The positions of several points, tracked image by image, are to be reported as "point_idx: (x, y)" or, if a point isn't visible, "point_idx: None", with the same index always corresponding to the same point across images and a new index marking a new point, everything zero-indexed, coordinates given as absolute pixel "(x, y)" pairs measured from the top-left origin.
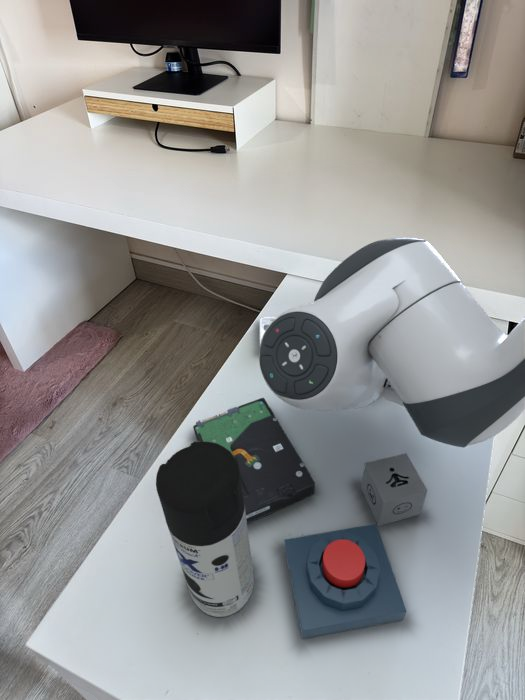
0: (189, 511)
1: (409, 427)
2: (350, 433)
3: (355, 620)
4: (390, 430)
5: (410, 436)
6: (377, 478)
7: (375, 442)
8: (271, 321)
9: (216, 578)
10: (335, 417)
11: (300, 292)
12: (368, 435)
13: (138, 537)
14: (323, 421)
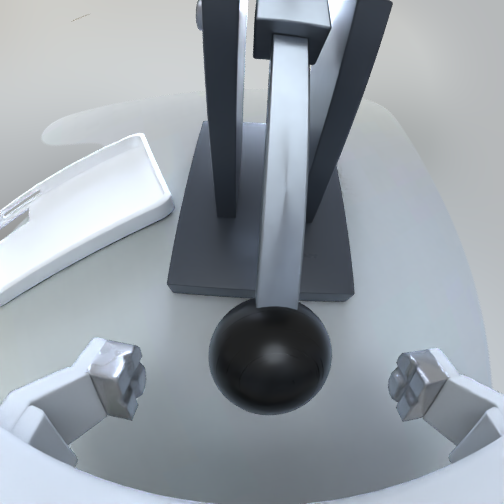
0: None
1: (384, 403)
2: (259, 493)
3: None
4: (349, 438)
5: (392, 424)
6: None
7: (327, 485)
8: (5, 217)
9: None
10: (201, 466)
11: (56, 134)
12: (304, 478)
13: None
14: (178, 485)
